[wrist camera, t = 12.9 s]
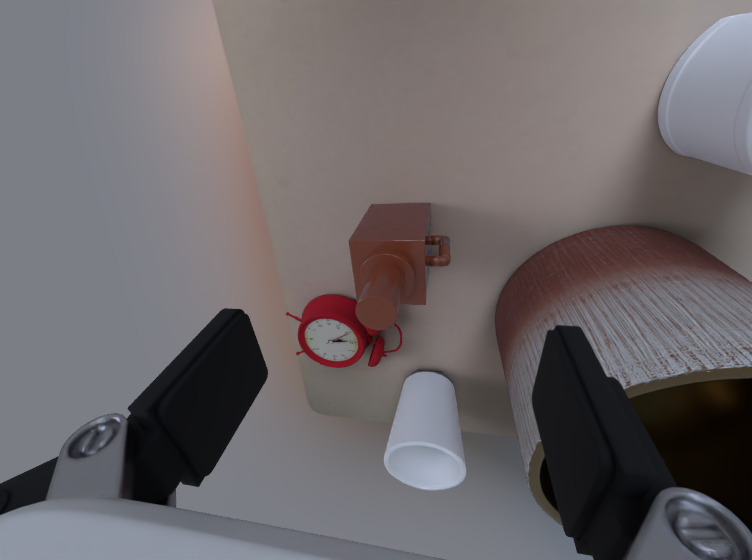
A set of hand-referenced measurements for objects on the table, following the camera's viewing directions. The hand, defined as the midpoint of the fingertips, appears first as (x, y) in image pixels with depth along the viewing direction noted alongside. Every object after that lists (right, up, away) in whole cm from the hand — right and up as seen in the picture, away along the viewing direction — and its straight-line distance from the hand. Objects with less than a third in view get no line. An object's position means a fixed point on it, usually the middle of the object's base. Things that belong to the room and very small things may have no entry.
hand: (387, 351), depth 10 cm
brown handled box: (+4, +8, +27) cm, 29 cm away
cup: (+8, -14, +40) cm, 43 cm away
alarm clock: (-4, -4, +36) cm, 37 cm away
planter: (+25, -1, +28) cm, 38 cm away
